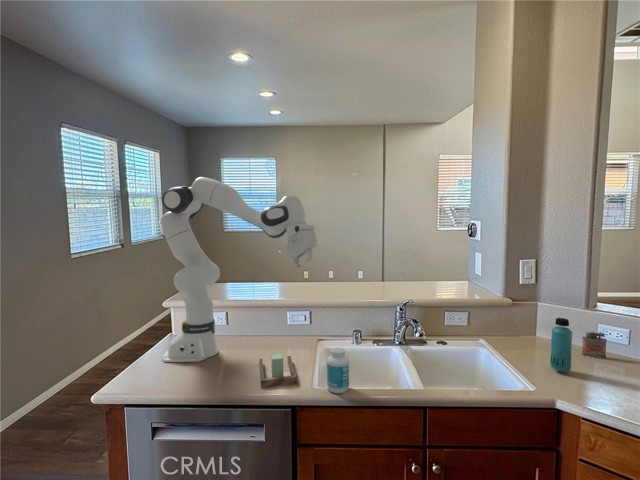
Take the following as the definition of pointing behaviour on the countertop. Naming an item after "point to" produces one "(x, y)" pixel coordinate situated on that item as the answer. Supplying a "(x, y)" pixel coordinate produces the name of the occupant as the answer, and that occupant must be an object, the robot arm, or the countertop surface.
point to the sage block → (277, 365)
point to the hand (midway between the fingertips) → (304, 265)
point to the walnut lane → (278, 380)
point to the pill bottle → (338, 371)
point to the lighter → (594, 345)
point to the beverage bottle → (561, 346)
